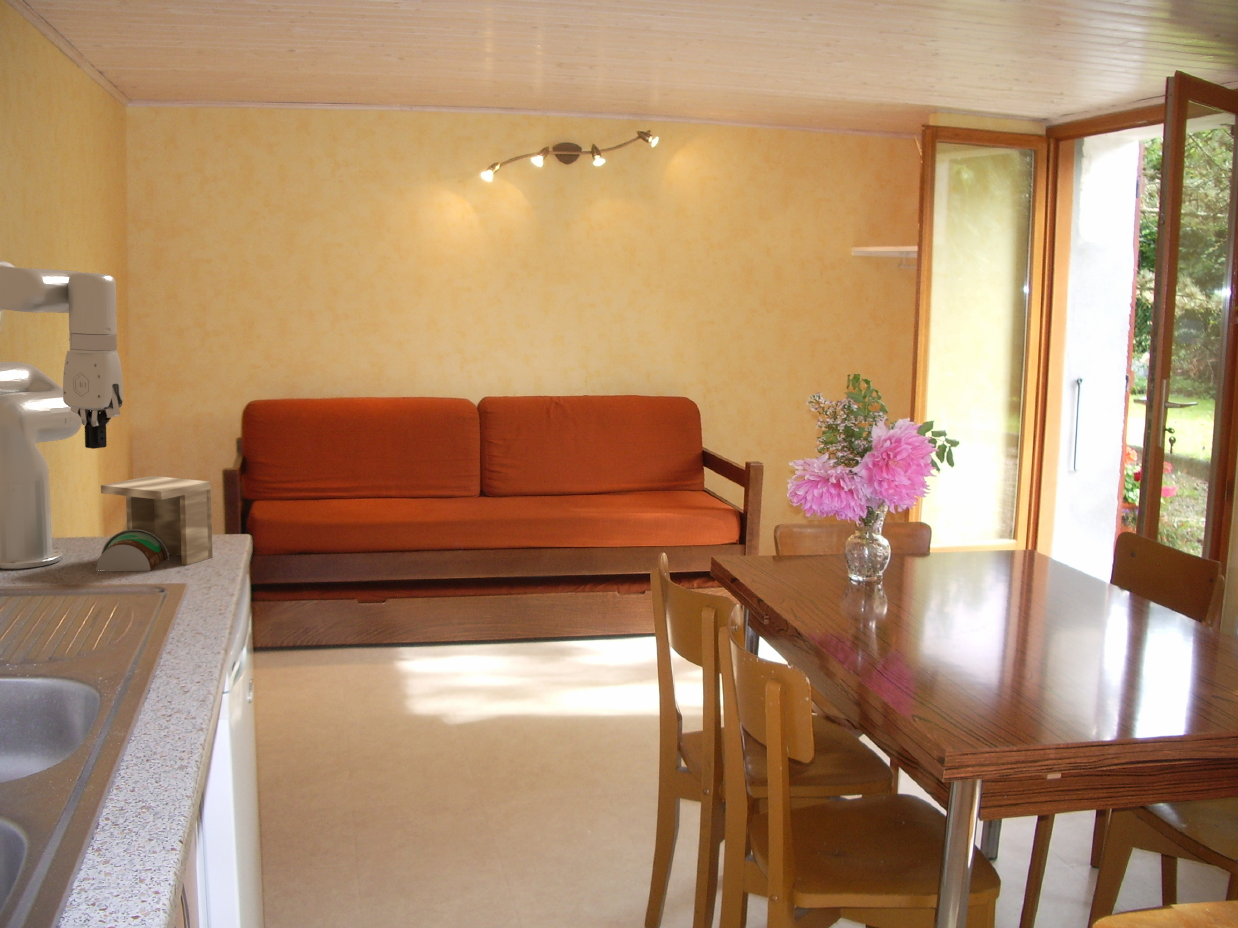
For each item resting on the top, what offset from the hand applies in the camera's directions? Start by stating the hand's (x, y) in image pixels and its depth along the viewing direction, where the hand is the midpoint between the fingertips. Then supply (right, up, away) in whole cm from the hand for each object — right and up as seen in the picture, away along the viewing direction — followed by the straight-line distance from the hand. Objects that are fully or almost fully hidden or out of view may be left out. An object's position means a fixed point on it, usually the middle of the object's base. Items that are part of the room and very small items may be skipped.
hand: (95, 447), depth 190 cm
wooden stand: (+5, -22, +14) cm, 26 cm away
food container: (+2, -20, +5) cm, 20 cm away
